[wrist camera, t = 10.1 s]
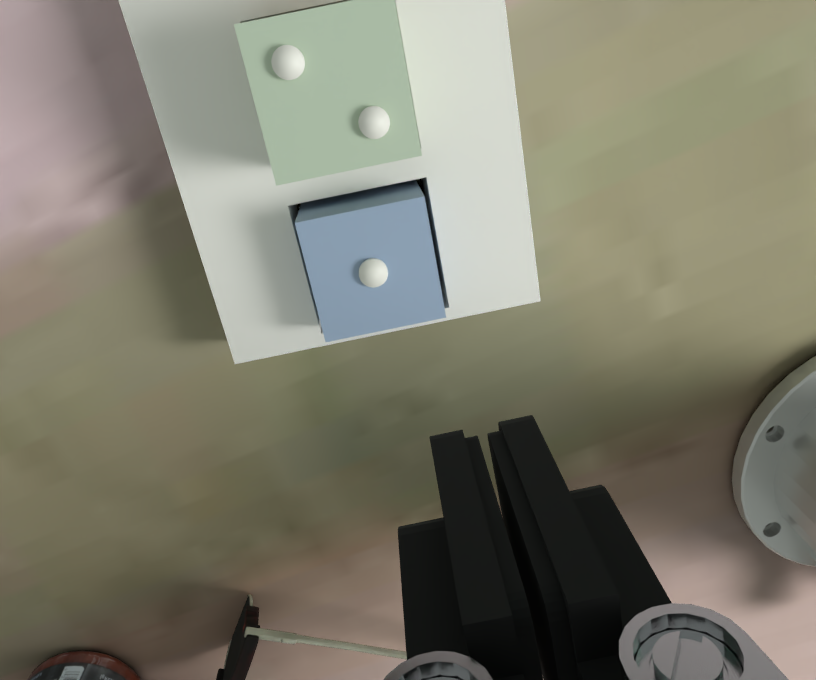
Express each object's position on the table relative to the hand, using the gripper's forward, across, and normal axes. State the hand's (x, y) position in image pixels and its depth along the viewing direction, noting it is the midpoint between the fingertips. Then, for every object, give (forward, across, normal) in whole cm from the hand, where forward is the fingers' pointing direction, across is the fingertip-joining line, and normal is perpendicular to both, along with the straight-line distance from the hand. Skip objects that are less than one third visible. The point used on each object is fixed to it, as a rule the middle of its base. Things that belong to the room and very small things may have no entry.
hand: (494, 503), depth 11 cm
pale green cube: (+15, +2, -6) cm, 17 cm away
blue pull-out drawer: (+18, +2, 0) cm, 18 cm away
